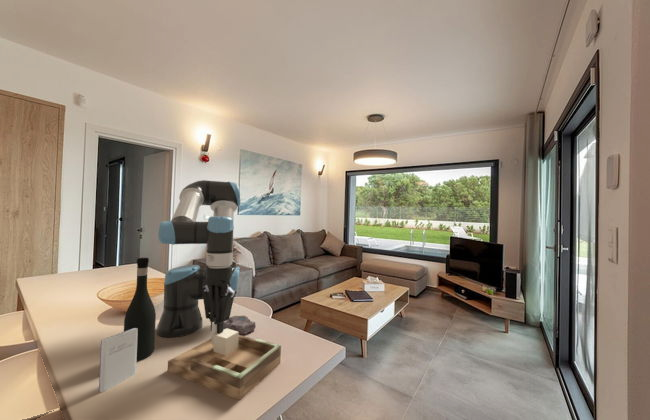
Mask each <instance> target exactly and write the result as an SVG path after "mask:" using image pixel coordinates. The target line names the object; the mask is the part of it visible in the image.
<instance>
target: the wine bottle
mask: <svg viewBox="0 0 650 420" xmlns="http://www.w3.org/2000/svg"><path fill="white" fill-rule="evenodd" d="M149 260H150V259H149V257H138V258H137V259H136V265H137V266H136V286H135V292H134V295H133V297H132V299H131V301H130V303H129V306H128V307H127V310H126V313H125V316H124V319H123V320H124V321H123V332H125V331H127V330H130V329H133V328H138V336H137V361H141V360H143V359H146V358H148V357H149V356H151V355H152V354H153V353H154V351H155V345H156V344H155V343H156V339H155V338H156V337H155V336H156V321H157V318H156V317H157V314H156V309H155V304H154V302H153V301H152V299H151V296H150V294H149V291H148V271H149V270H148V268H149V262H150V261H149Z"/></svg>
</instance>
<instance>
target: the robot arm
mask: <svg viewBox="0 0 650 420" xmlns="http://www.w3.org/2000/svg"><path fill="white" fill-rule="evenodd" d="M178 198H179V202H178V204H177V207H176V209H175V211H174V214H173V216H172V218H171V220H164V221H161V222H160V223H159V227H158V234H157V235H158V240H159V243H161V245H172V246H174V245H207V246H206V262H205V263H206V264H205V265H206V268H201V266H200V265H199V264H188V265H187V264H186V265H182V266H177V267H174V268H171V269H168V270H167V271H166V273H165V275H164V282H163V285H164V288H163V311H162V312H161V315H160V319H159V321H158V323H157V326H156V334H157V335H158V336H160V337H163V338H176V337H178V338H179V337H184V336H189V335H191V334H193V333H195V332H198V331H199V330H200V329H201V328H202V327H203V322H204V321H203V317H202V313H201V310H200V307H199V301H200V300H203V306H204V314H205V318H206V319H209V322H210V332H211V338H210V339H211V344H212V345H214V334H216V333H218V334H220V333H222V332H223V324H224V322H226V321H227V320H229V318H230V316H231V312H232V309H233V308H232V307H233V305H234V304H233V303H234V299H235V297H236V295H237V293H238V292H237V291H238V286H239V285H238V284H239V279H240V272H241V271H240V270H241V268H240V267H239V266H237V262H236V261H235V260H234V229H235V225H234V218H235V217H234V216H235V215H234V214H235V212H236V211H237V209H238V207H240V206H241V191H240V186H239V184H238V183H236V182H232V181H218V180H202V179H201V180H197V181H194V182H192V183H189V184H188V185H186V186H185V187H184V188H182V190H181V192H180V193H179V197H178ZM201 206H210V210H211V211H212V212H213V216H212V215H211V216H210V217H208V218H207V221H197V218H198V214H199V210H200V207H201Z"/></svg>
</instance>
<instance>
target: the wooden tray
mask: <svg viewBox="0 0 650 420" xmlns="http://www.w3.org/2000/svg"><path fill="white" fill-rule="evenodd" d="M213 348H214V345H212V344H211V338H210V339H208V340H206V341H204V342H202V343H200V344H198V345H196V346H194V347H192V348H191V349H189V350H187V351H184V352H182V353H181V354H179V355H177V356H175V357H173V358H171V359H169V360H167V372H169V373H171V374H173V375H175V376H178V377H181V378H183V379H186V380H188V381H191V382H193V383H195V384H196V383H197V384H198V385H201V386H204V387H206V388H208V389H211V390H213V391H216V392H218V393H220V394H223V395H225V396H227V397H231V398H233V399H236V400H238V401H241V399H243V398H244V397H246V395H248V393H249V392H250V391H252V390H253V389H254V388H255V387H256V386H257V385H258V384H260V382H262V381H263V380H264V379H265V378H266V377H267V376H269V374H270V373H272V371H273V370H275V369H276V368H277V367H278V366H279V365H280V364H281V354H282V353H281V352H282V344H278V343H274V342H271V341H268V340H264V339H260V338H251V337H249V336H245V335H242V334H239V337H238V348H237V349H236V350H234V351H232V352H231V353H229V354H228V355H226V356H225V355H222V354H220V353H217V352H214V351H213Z"/></svg>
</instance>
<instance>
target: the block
mask: <svg viewBox="0 0 650 420" xmlns="http://www.w3.org/2000/svg"><path fill="white" fill-rule="evenodd" d="M239 335H240V334H239V332H238V331H234V330H231V329H227V328H226V329H224V330H223V332H222V333H220V334H218V333H216V334H214V348H213V351H214V352H217V353H220V354H222V355H225V356H226V355H228V354H229V353H231V352H232V351H234V350H236V349H237V348H238V337H239Z"/></svg>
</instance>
